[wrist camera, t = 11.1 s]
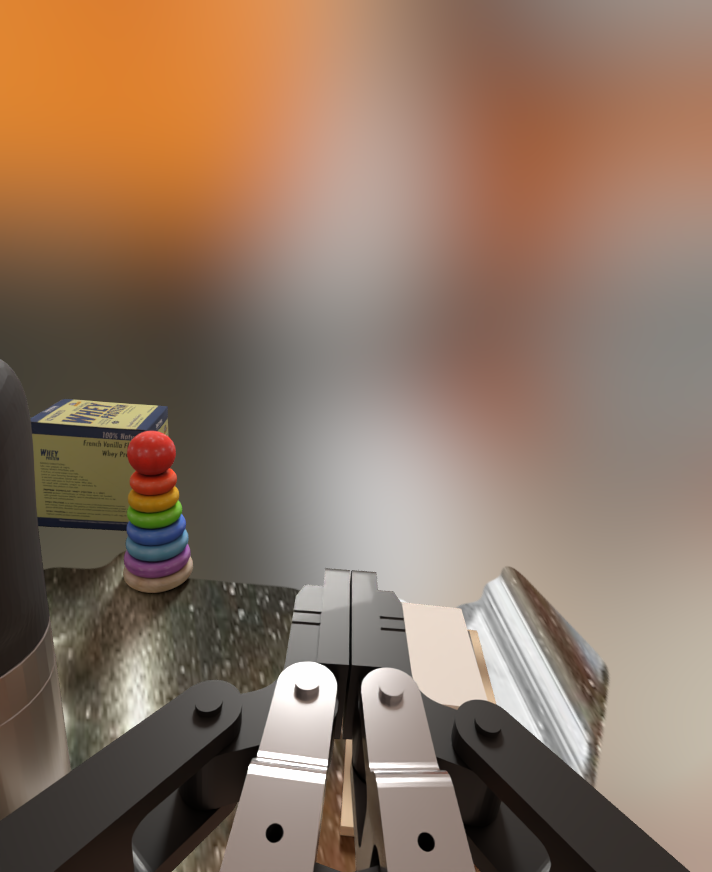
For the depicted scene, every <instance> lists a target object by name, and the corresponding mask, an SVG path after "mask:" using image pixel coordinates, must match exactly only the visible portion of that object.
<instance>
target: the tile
mask: <svg viewBox="0 0 712 872" xmlns="http://www.w3.org/2000/svg"><path fill="white" fill-rule="evenodd" d="M401 603H402V607H403V614H404V621H405V628H406V636H407V643H408V650H409V657H410V664H411V672H412V677H413V679H414V681H415V682H416V683H417V685H418V687H419V689H420V691H421V692H422V693H423V694H425V695H426V696H427V697H428V698H430V699H432V700H433V701H435V702H437V703H440V704H442V705H445V706H448V707H451V708H453V709H456V710H458V708H459V707H460V706H461V705H462V704H463V703H465V702H467V701H470V700H475V699H476V700H486V701H488V700H487V697H486V693H485V690H484V686H483V683H482V679H481V676H480V672H479V669H478V666H477V662H476V659H475V655H474V652H473V648H472V645H471V641H470V638H469V634H468V631H467V628H466V624H465V621H464V617H463V614H462V610H461V609H458V608H449V607H439V606H430V605H422V604H413V603H404V602H401Z"/></svg>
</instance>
